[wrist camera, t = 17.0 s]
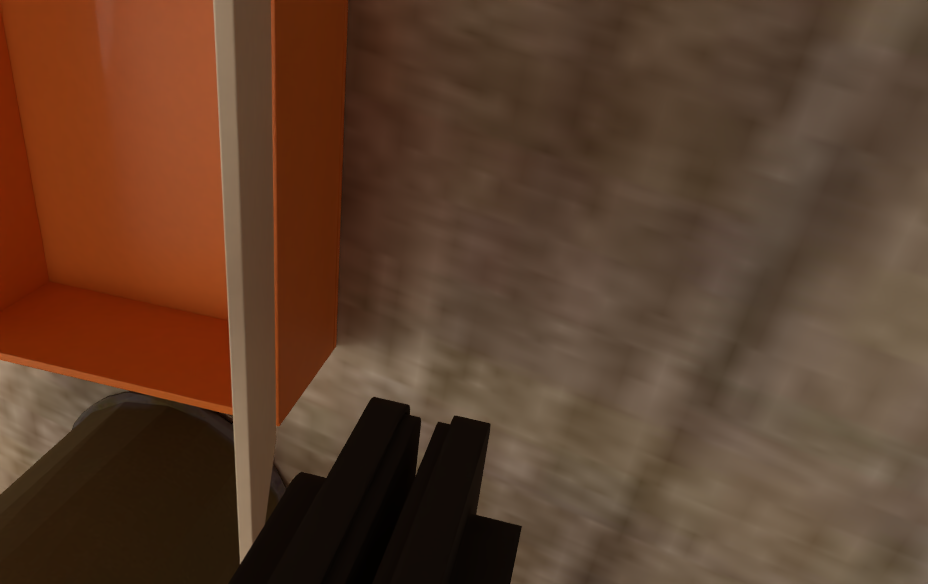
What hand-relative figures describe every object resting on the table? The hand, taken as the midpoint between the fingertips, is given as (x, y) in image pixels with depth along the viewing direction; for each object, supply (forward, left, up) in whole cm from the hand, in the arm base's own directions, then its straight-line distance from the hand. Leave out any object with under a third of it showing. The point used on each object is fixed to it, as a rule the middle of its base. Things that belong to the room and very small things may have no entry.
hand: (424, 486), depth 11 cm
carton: (0, -12, -13) cm, 18 cm away
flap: (0, -5, -5) cm, 7 cm away
